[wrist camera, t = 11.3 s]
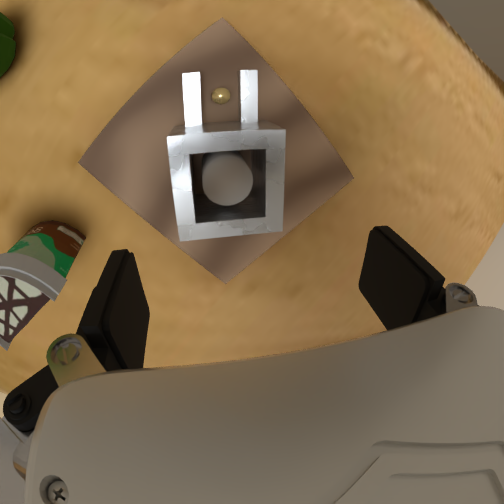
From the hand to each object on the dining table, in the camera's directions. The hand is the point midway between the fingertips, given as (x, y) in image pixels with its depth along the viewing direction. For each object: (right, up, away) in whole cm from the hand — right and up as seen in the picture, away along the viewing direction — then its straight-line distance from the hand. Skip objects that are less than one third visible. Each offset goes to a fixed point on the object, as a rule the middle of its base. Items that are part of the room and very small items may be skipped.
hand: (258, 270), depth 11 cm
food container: (-22, +2, +13) cm, 25 cm away
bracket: (-3, +9, +10) cm, 14 cm away
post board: (-3, +8, +12) cm, 15 cm away
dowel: (-3, +12, +8) cm, 15 cm away
